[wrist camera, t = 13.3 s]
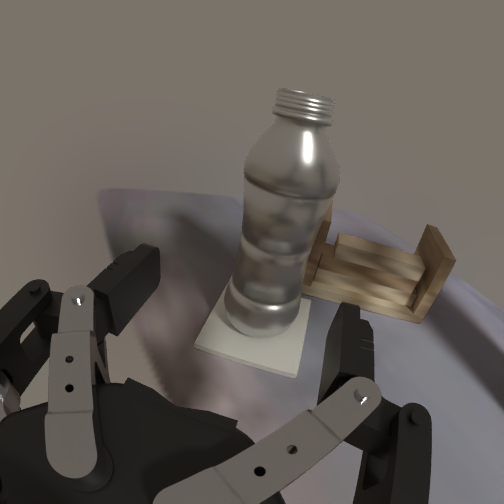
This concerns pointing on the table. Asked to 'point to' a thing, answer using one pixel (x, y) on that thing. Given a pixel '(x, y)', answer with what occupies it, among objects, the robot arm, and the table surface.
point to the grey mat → (255, 342)
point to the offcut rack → (378, 273)
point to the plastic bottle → (282, 213)
